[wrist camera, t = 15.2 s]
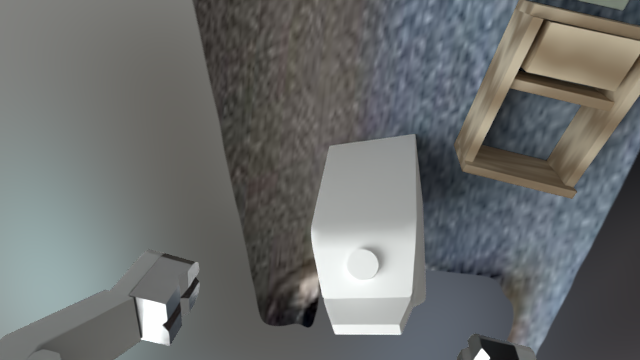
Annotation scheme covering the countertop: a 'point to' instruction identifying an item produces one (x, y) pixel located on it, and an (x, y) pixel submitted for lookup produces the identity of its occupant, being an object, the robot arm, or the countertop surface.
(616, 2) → the sage mat
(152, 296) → the robot arm
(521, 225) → the countertop surface
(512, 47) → the birch rack
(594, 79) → the offcut top
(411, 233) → the milk
